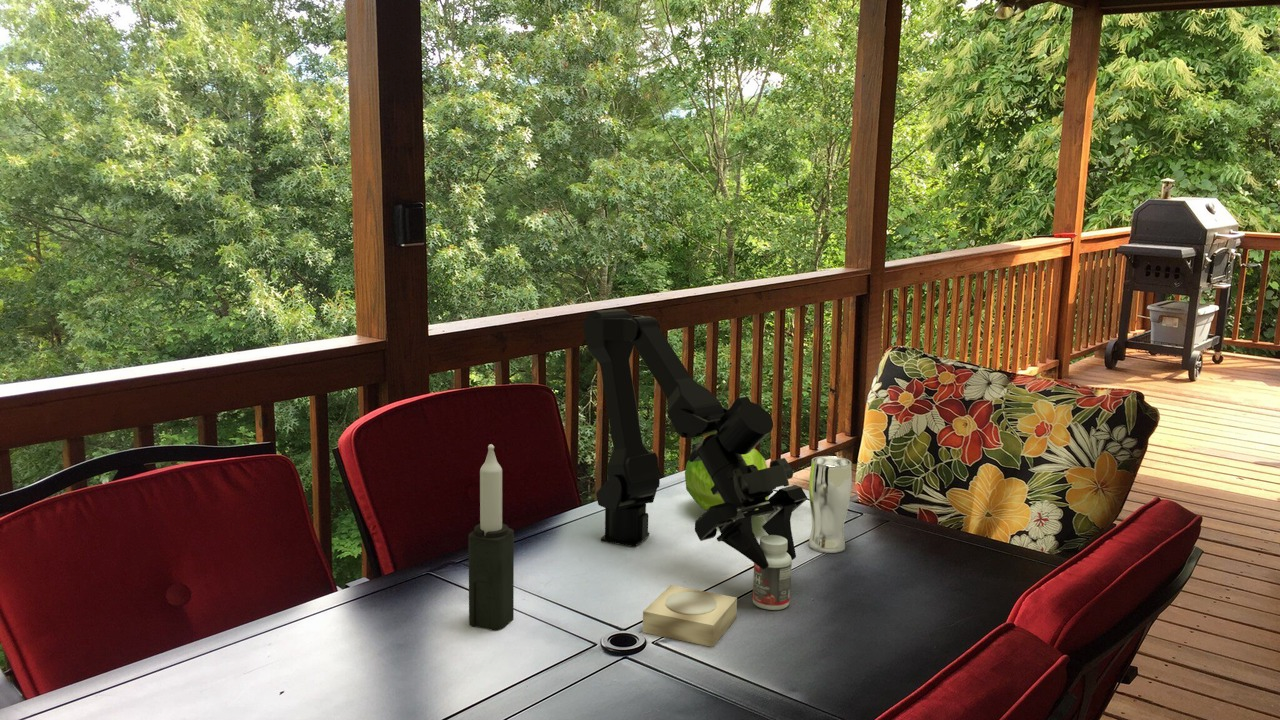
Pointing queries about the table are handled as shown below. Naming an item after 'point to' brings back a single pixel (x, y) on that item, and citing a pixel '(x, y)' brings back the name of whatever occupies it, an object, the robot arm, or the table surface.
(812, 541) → the beer glass
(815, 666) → the table surface
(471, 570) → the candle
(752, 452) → the lettuce
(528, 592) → the table surface
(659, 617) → the pedestal
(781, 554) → the pill bottle
